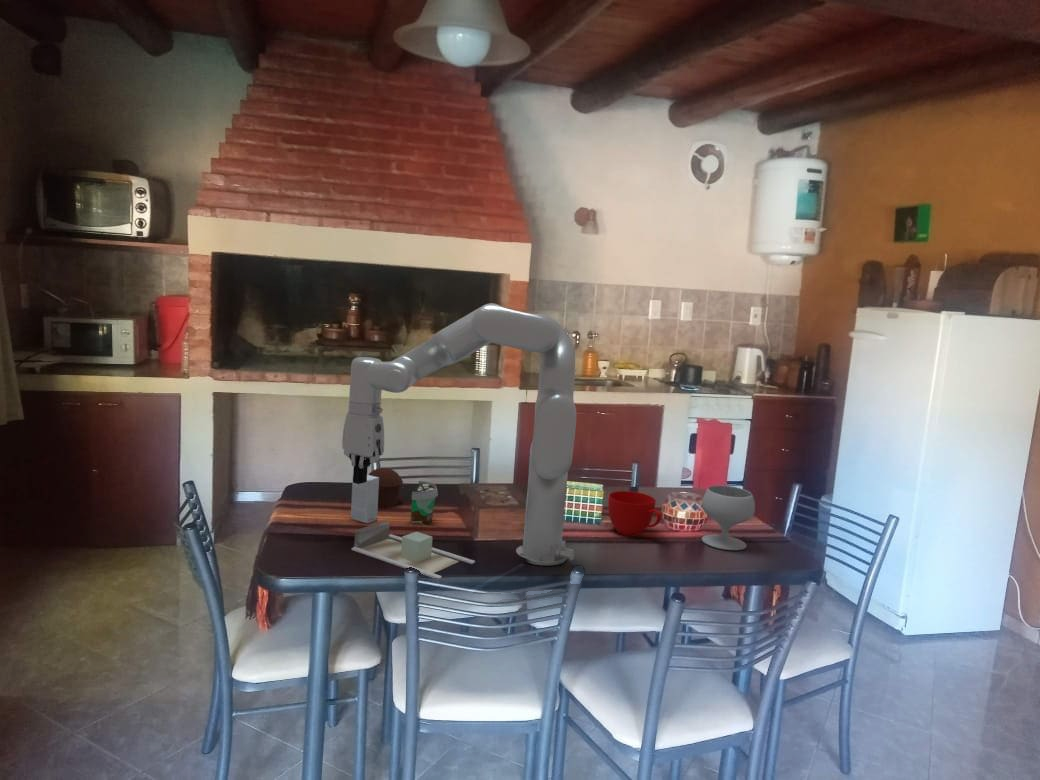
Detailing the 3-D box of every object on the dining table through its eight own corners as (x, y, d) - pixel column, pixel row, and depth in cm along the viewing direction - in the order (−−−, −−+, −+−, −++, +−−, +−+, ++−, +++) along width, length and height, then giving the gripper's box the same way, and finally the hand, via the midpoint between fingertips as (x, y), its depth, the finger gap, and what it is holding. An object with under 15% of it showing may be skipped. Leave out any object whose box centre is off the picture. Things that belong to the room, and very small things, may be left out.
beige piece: (459, 565, 179) (460, 544, 178) (432, 577, 170) (433, 556, 170) (382, 540, 191) (383, 521, 190) (353, 550, 183) (355, 530, 182)
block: (431, 557, 180) (432, 536, 179) (417, 562, 176) (418, 541, 175) (414, 551, 182) (416, 531, 182) (400, 557, 178) (402, 536, 177)
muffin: (403, 508, 219) (405, 475, 217) (364, 509, 216) (366, 474, 214) (399, 496, 230) (401, 464, 229) (361, 496, 227) (363, 464, 226)
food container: (432, 530, 202) (435, 494, 201) (409, 528, 202) (411, 492, 201) (438, 516, 214) (441, 481, 213) (417, 514, 214) (419, 480, 213)
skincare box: (377, 520, 207) (380, 477, 205) (366, 523, 203) (369, 480, 201) (360, 515, 210) (362, 473, 208) (349, 518, 206) (352, 475, 204)
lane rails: (474, 567, 179) (475, 560, 178) (437, 584, 167) (438, 577, 167) (390, 540, 192) (391, 534, 192) (351, 554, 181) (351, 548, 180)
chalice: (750, 540, 215) (757, 489, 213) (749, 556, 202) (756, 501, 200) (699, 532, 219) (705, 481, 217) (695, 547, 206) (701, 493, 204)
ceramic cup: (641, 547, 202) (645, 511, 200) (595, 528, 215) (599, 494, 213) (672, 539, 210) (676, 504, 209) (627, 522, 223) (630, 488, 222)
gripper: (398, 412, 183) (393, 486, 186) (353, 402, 191) (348, 473, 194) (376, 415, 177) (371, 492, 180) (330, 405, 185) (326, 478, 187)
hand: (359, 482), depth 187 cm, fingers closed
